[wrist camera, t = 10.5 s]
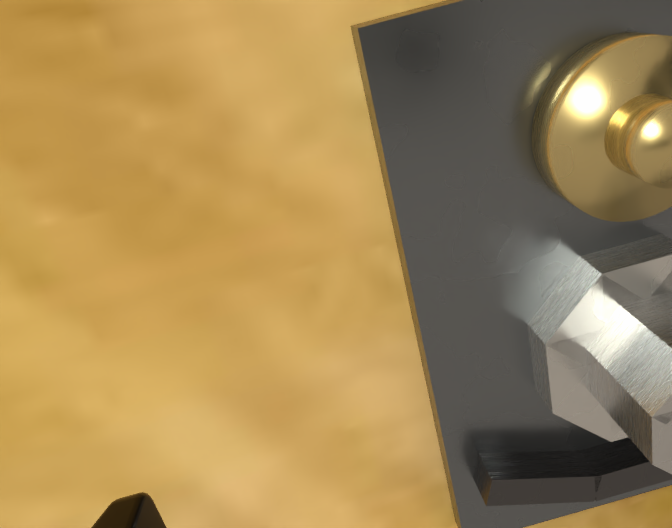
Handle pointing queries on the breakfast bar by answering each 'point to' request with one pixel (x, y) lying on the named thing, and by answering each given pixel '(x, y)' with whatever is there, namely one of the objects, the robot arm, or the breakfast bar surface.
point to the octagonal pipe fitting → (611, 346)
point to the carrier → (517, 219)
